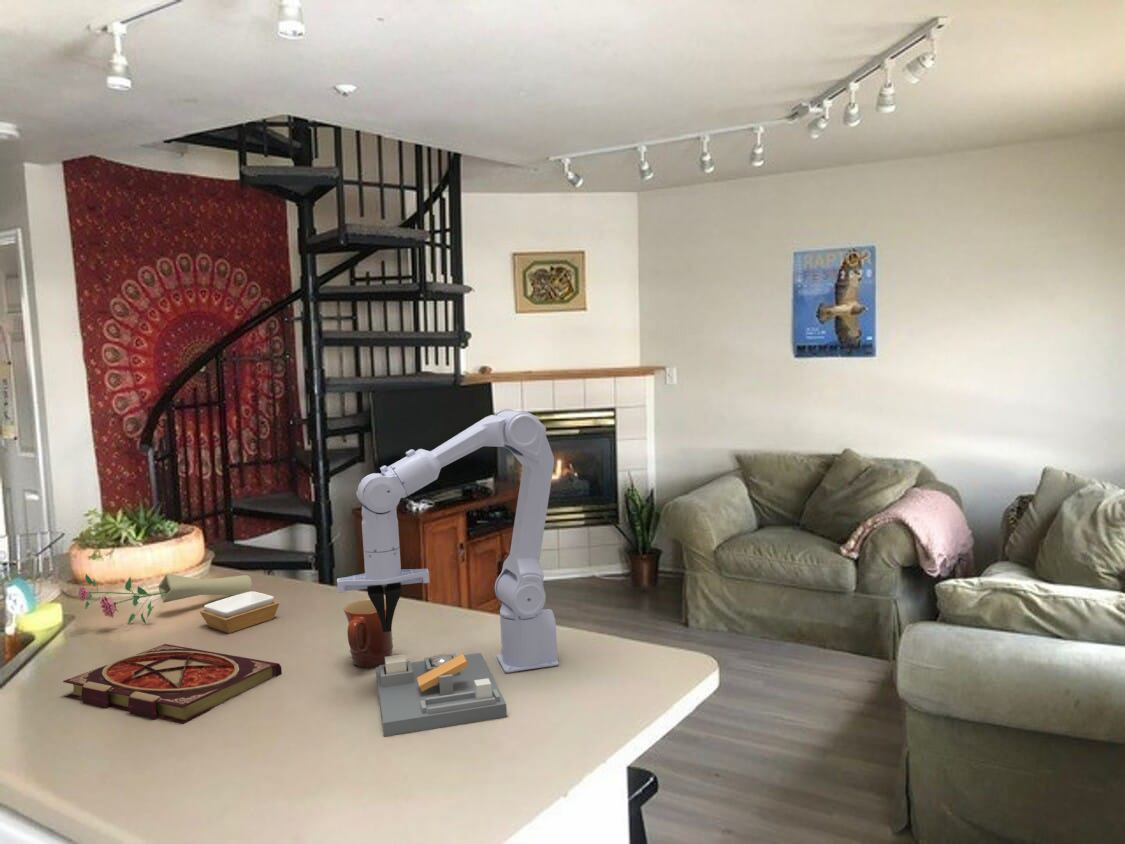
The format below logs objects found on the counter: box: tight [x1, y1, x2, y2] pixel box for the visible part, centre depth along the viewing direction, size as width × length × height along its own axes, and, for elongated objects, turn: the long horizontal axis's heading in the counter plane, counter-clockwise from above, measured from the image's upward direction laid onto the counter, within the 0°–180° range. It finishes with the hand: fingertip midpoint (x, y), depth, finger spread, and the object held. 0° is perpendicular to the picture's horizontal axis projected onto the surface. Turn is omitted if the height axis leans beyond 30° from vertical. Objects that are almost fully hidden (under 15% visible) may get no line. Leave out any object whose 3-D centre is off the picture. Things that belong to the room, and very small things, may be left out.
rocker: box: [417, 653, 469, 691], centre depth 131 cm, size 8×4×1 cm, turn 106°
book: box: [62, 643, 283, 725], centre depth 142 cm, size 28×21×5 cm
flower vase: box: [77, 573, 253, 625], centre depth 180 cm, size 12×12×35 cm
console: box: [375, 652, 508, 737], centre depth 133 cm, size 18×22×5 cm
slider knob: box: [474, 678, 492, 700], centre depth 126 cm, size 2×2×3 cm
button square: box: [384, 654, 407, 674], centre depth 135 cm, size 3×3×2 cm
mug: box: [343, 598, 394, 668], centre depth 147 cm, size 12×9×10 cm
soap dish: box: [199, 590, 280, 634], centre depth 174 cm, size 12×10×5 cm
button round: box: [431, 653, 452, 667], centre depth 138 cm, size 3×3×2 cm
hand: (386, 629), depth 136 cm, fingers closed
